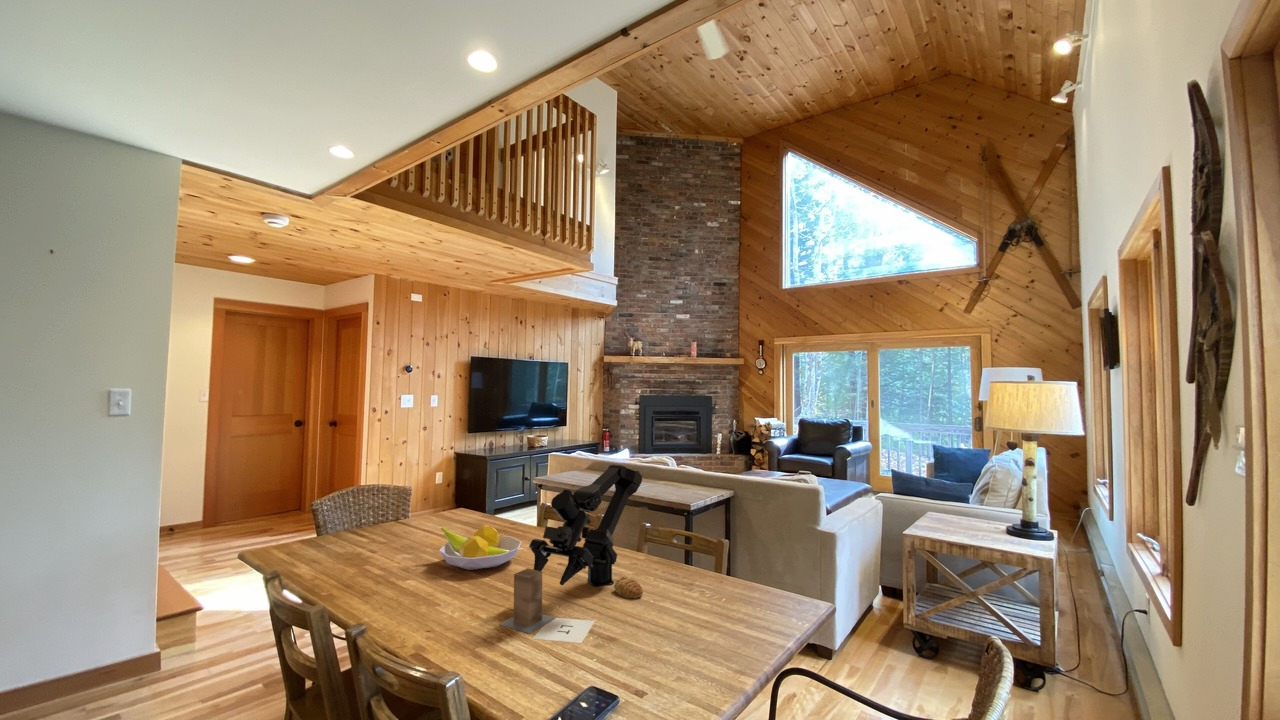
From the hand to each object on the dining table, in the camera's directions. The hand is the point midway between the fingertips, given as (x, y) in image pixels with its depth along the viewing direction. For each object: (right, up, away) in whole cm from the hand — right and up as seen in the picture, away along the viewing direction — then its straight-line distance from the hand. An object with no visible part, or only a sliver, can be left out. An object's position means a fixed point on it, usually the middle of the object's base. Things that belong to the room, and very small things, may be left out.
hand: (547, 581), depth 145 cm
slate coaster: (-4, -8, -7) cm, 11 cm away
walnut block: (-4, -7, -7) cm, 11 cm away
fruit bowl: (-30, -10, +41) cm, 51 cm away
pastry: (+22, -9, +14) cm, 27 cm away
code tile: (+6, -8, -11) cm, 15 cm away
